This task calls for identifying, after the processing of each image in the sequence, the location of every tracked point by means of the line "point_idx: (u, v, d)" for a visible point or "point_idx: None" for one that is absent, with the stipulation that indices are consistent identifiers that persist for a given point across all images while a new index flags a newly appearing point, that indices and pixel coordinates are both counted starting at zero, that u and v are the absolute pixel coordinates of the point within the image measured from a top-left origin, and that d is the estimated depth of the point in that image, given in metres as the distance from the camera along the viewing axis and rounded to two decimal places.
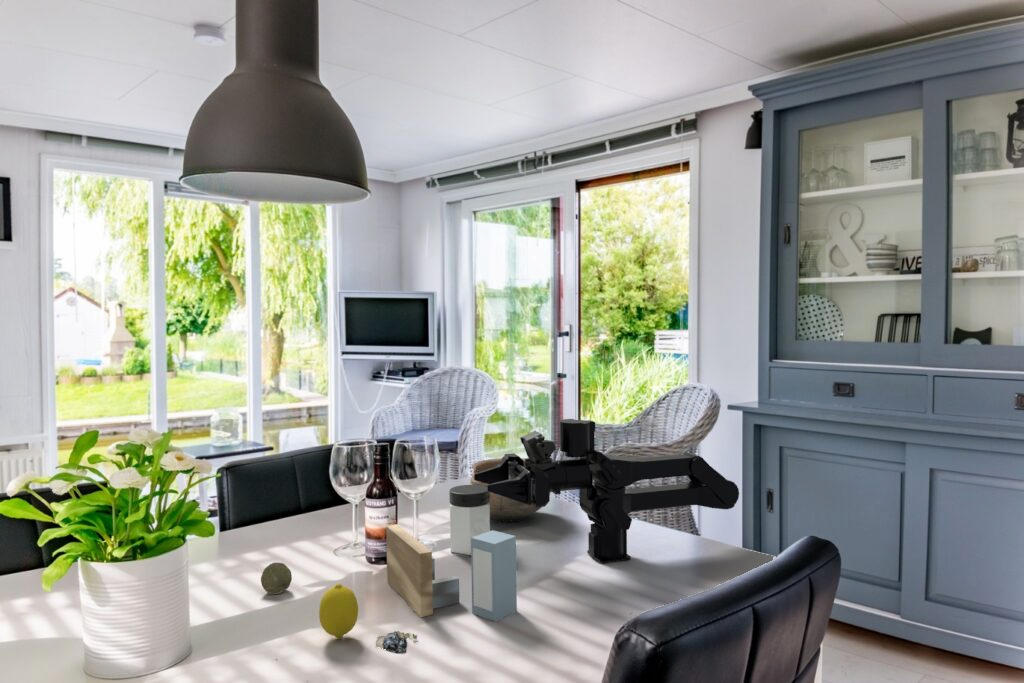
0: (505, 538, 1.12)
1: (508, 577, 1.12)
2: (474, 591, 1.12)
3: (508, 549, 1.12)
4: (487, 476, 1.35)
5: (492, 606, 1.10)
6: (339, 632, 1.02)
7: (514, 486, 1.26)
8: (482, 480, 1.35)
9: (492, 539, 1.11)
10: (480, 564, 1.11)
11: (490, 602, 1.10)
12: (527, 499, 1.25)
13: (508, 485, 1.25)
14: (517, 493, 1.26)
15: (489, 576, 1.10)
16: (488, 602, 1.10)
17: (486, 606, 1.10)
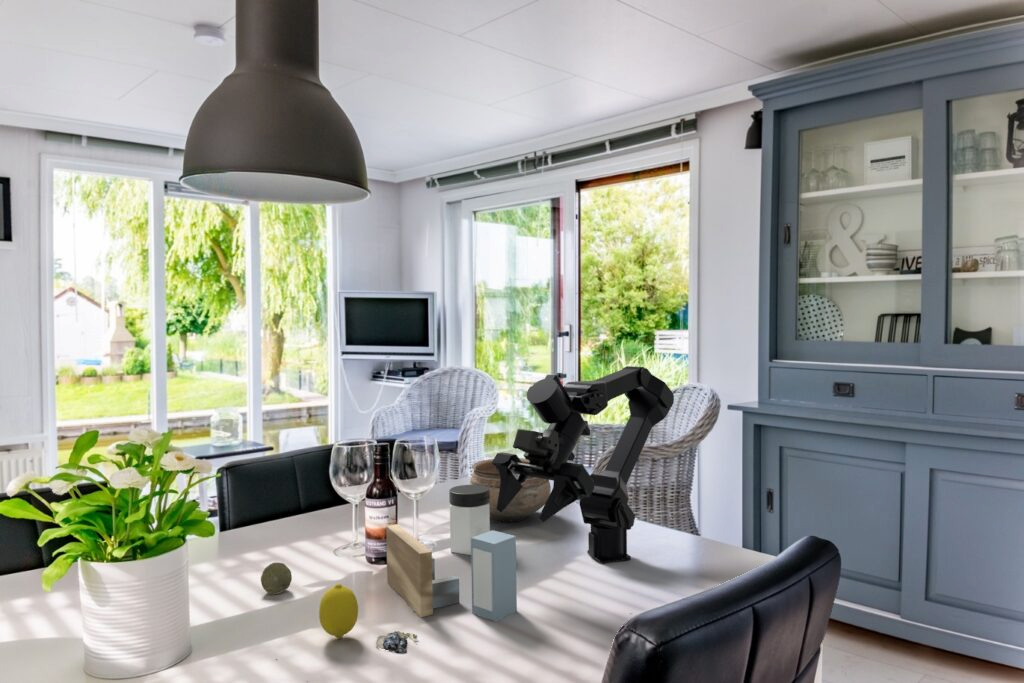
0: (505, 538, 1.12)
1: (508, 577, 1.12)
2: (474, 591, 1.12)
3: (508, 549, 1.12)
4: (506, 498, 1.22)
5: (492, 606, 1.10)
6: (339, 632, 1.02)
7: (558, 497, 1.16)
8: (505, 505, 1.22)
9: (492, 539, 1.11)
10: (480, 564, 1.11)
11: (490, 602, 1.10)
12: (577, 496, 1.17)
13: (555, 501, 1.15)
14: (564, 498, 1.17)
15: (489, 576, 1.10)
16: (488, 602, 1.10)
17: (486, 606, 1.10)
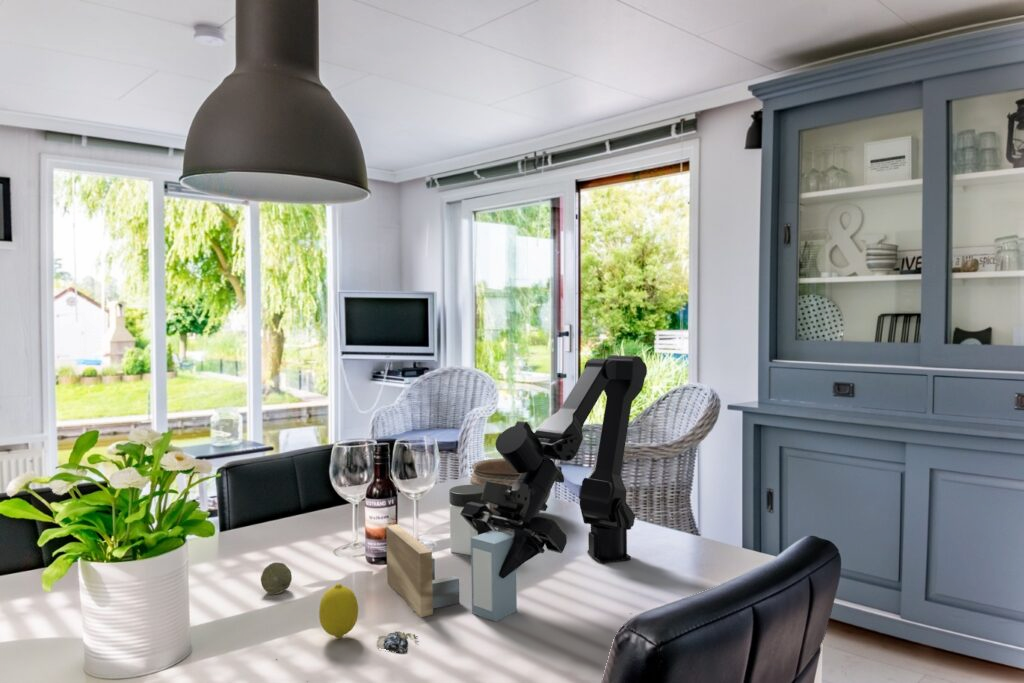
0: (505, 538, 1.12)
1: (508, 577, 1.12)
2: (474, 591, 1.12)
3: (508, 549, 1.12)
4: None
5: (492, 606, 1.10)
6: (339, 632, 1.02)
7: (519, 551, 1.12)
8: None
9: (492, 539, 1.11)
10: (480, 564, 1.11)
11: (490, 602, 1.10)
12: (538, 550, 1.12)
13: (515, 556, 1.11)
14: (525, 552, 1.12)
15: (489, 576, 1.10)
16: (488, 601, 1.10)
17: (486, 606, 1.10)
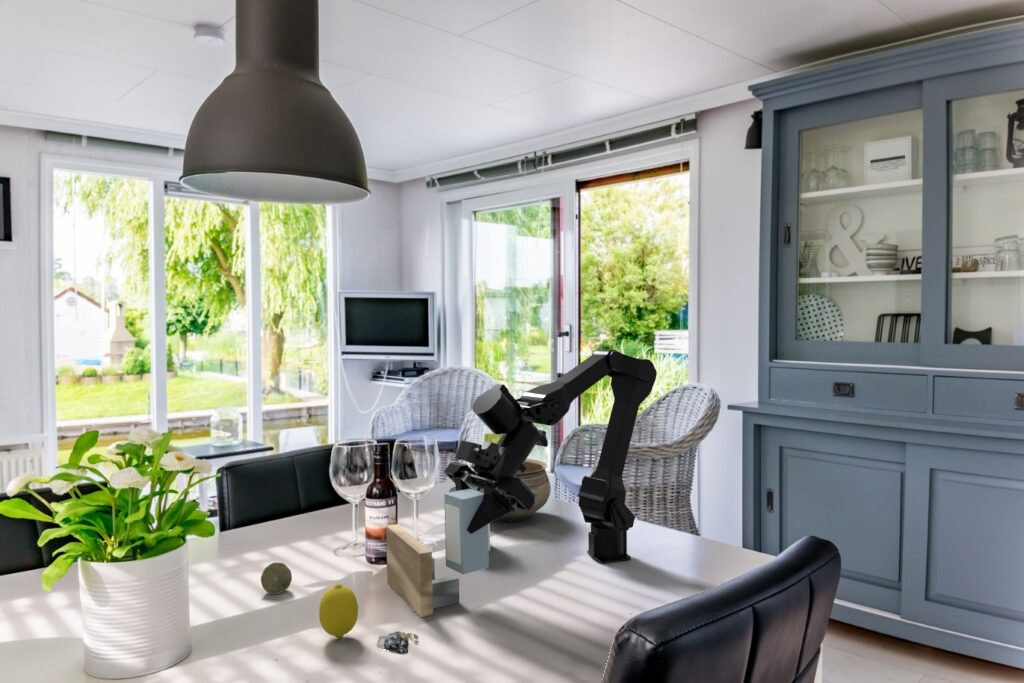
0: (476, 495, 1.15)
1: (478, 533, 1.15)
2: (446, 545, 1.16)
3: (478, 506, 1.15)
4: None
5: (461, 559, 1.14)
6: (339, 632, 1.02)
7: (489, 508, 1.15)
8: None
9: (462, 496, 1.15)
10: (451, 519, 1.15)
11: (458, 555, 1.14)
12: (508, 508, 1.15)
13: (484, 513, 1.14)
14: (495, 510, 1.15)
15: (458, 531, 1.14)
16: (457, 555, 1.14)
17: (456, 559, 1.14)
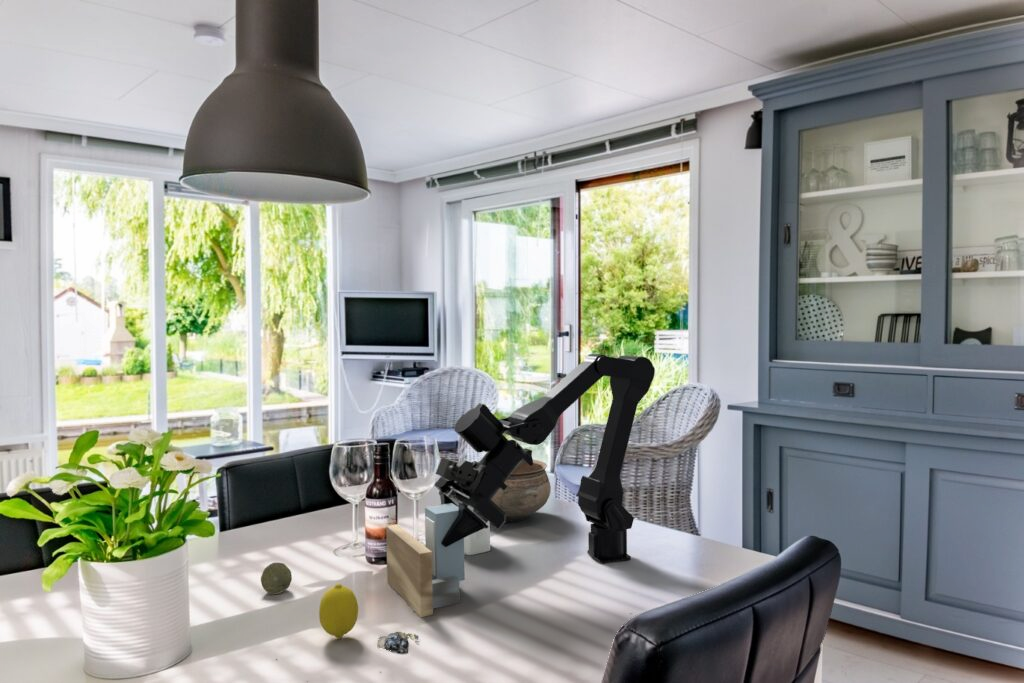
0: (451, 510, 1.21)
1: (453, 546, 1.20)
2: None
3: (453, 521, 1.20)
4: None
5: (435, 571, 1.19)
6: (339, 632, 1.02)
7: (463, 524, 1.19)
8: None
9: (439, 510, 1.21)
10: (428, 531, 1.21)
11: (433, 567, 1.19)
12: (482, 525, 1.19)
13: (457, 528, 1.19)
14: (470, 526, 1.20)
15: (432, 543, 1.19)
16: (432, 566, 1.20)
17: None
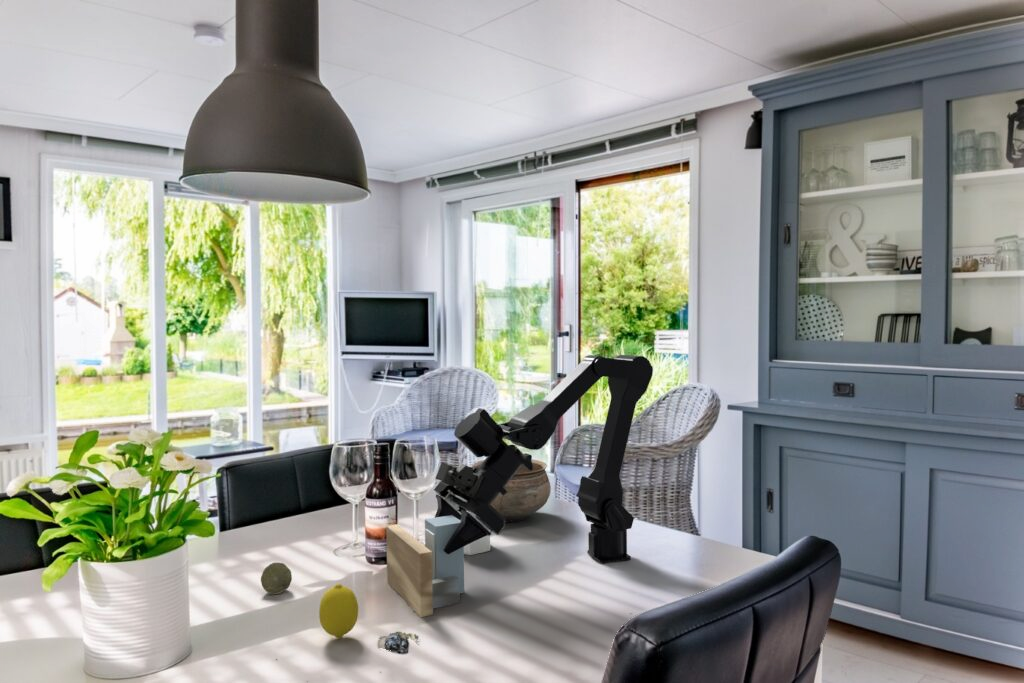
0: (451, 522, 1.21)
1: (453, 559, 1.20)
2: None
3: None
4: None
5: None
6: (339, 632, 1.02)
7: (465, 531, 1.18)
8: None
9: (439, 522, 1.21)
10: (428, 544, 1.21)
11: (433, 579, 1.20)
12: (485, 532, 1.18)
13: (460, 535, 1.18)
14: (472, 533, 1.19)
15: (432, 556, 1.19)
16: (432, 579, 1.20)
17: None
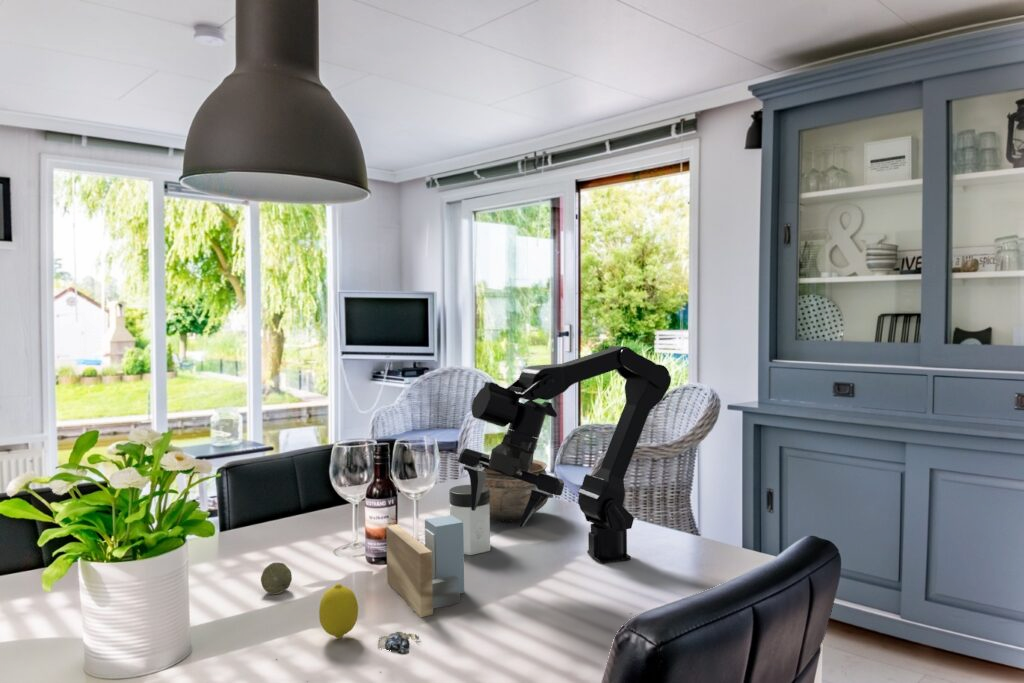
0: (451, 522, 1.21)
1: (453, 559, 1.20)
2: None
3: (453, 533, 1.20)
4: (478, 496, 1.28)
5: None
6: (339, 632, 1.02)
7: None
8: (477, 502, 1.29)
9: (439, 522, 1.21)
10: (428, 544, 1.21)
11: (433, 579, 1.20)
12: None
13: (532, 510, 1.25)
14: None
15: (432, 556, 1.19)
16: (432, 579, 1.20)
17: None
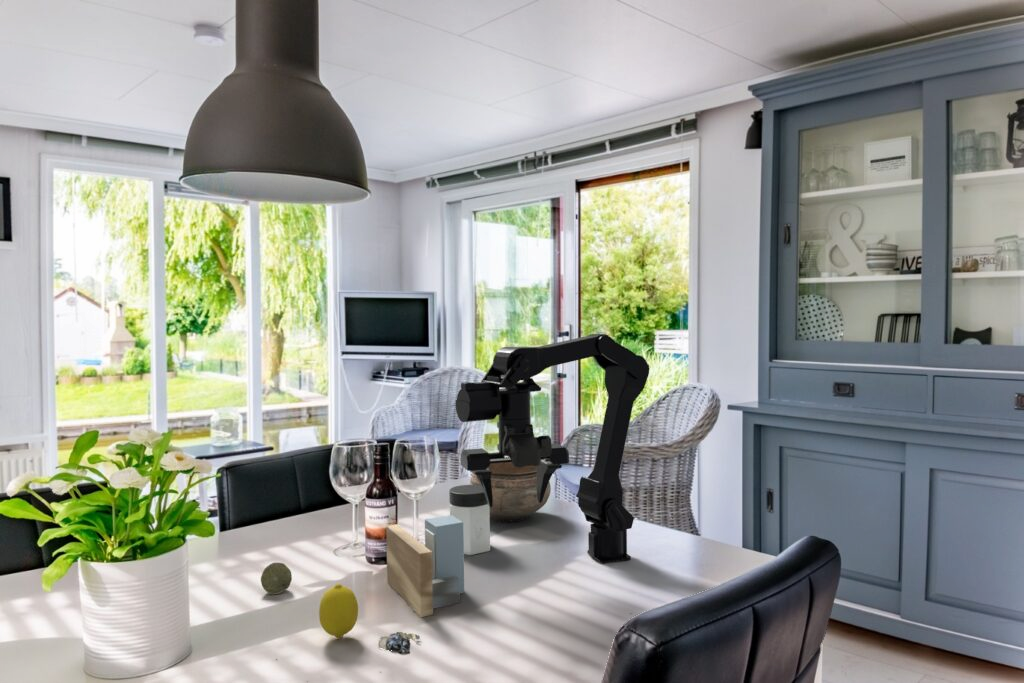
0: (451, 522, 1.21)
1: (453, 559, 1.20)
2: None
3: (453, 533, 1.20)
4: None
5: None
6: (339, 632, 1.02)
7: None
8: None
9: (439, 522, 1.21)
10: (428, 544, 1.21)
11: (433, 579, 1.20)
12: None
13: None
14: None
15: (432, 556, 1.19)
16: (432, 579, 1.20)
17: None
